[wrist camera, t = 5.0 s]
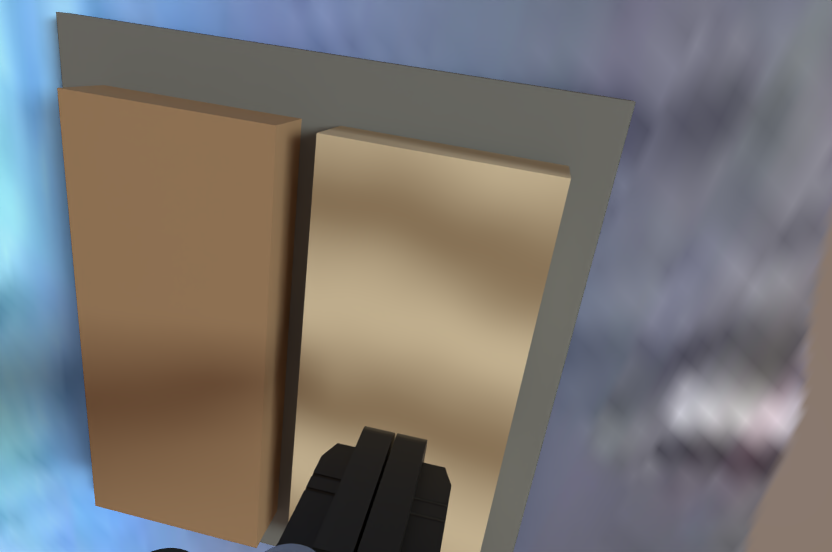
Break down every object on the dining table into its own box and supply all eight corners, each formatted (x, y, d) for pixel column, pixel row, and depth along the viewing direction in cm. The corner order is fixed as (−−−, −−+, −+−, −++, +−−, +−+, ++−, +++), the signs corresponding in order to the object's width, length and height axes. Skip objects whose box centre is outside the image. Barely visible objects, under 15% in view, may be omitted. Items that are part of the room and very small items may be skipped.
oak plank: (340, 125, 18) (316, 132, 16) (568, 166, 17) (570, 178, 15) (306, 518, 24) (285, 556, 22) (472, 567, 23) (465, 611, 21)
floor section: (70, 13, 19) (2, 6, 16) (632, 100, 17) (649, 106, 14) (108, 490, 26) (66, 534, 24) (499, 591, 24) (496, 650, 22)
